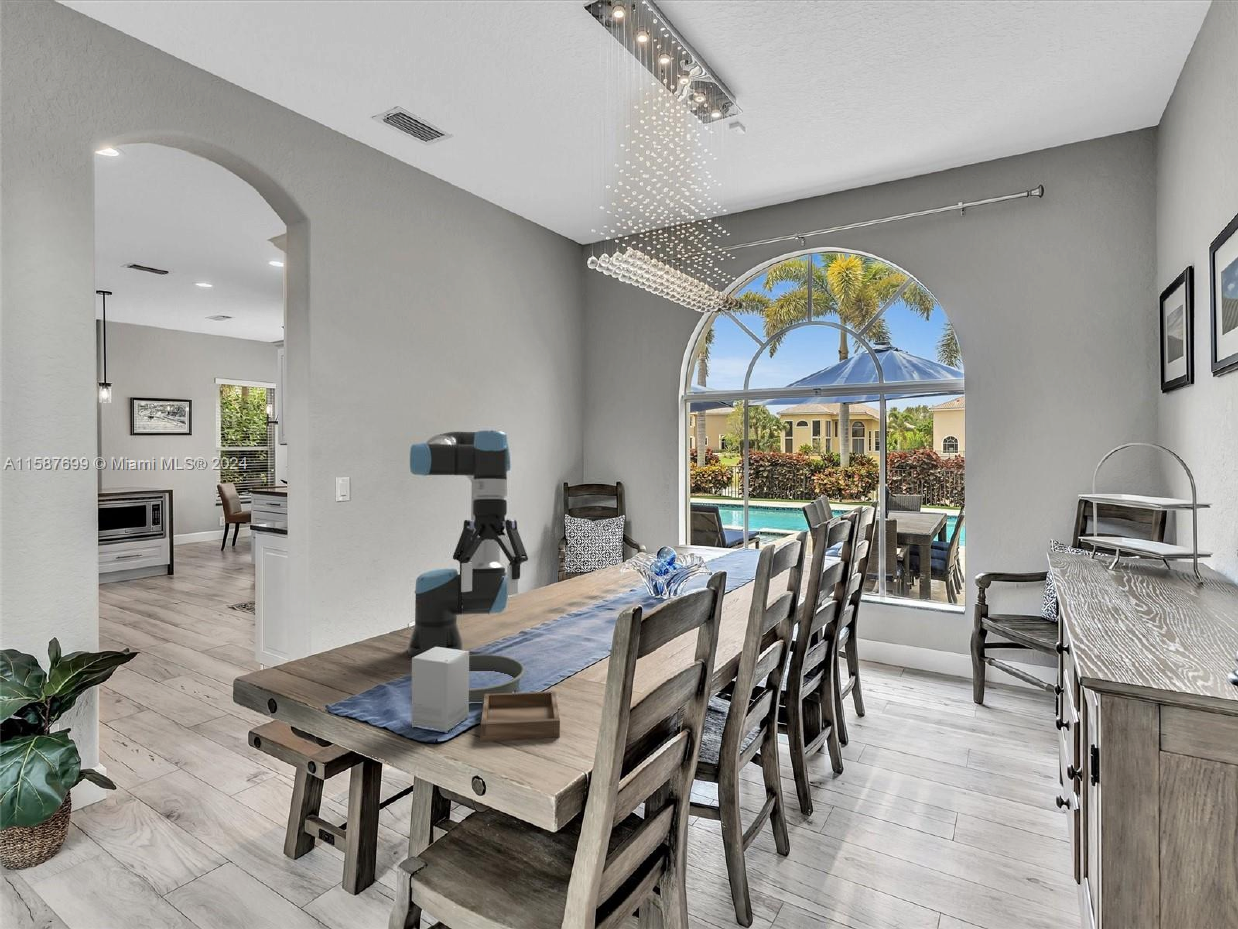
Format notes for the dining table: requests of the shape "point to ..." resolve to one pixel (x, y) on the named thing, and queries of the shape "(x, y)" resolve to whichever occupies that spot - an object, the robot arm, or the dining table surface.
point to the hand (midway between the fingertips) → (489, 593)
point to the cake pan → (497, 665)
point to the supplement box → (440, 688)
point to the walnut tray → (520, 716)
